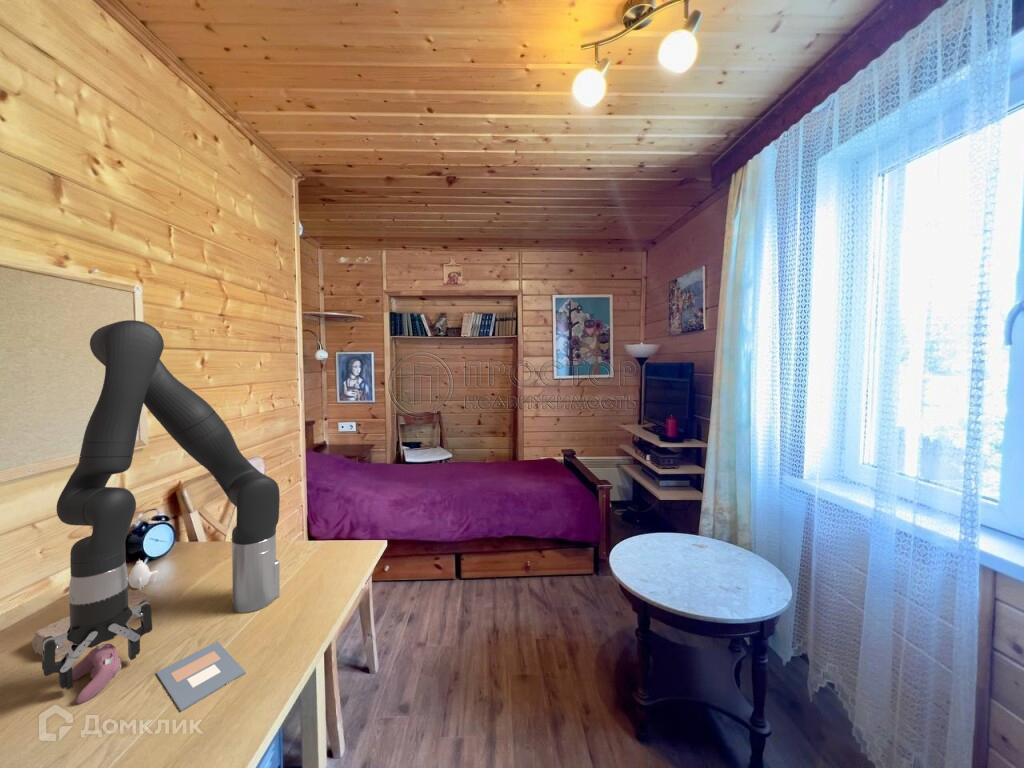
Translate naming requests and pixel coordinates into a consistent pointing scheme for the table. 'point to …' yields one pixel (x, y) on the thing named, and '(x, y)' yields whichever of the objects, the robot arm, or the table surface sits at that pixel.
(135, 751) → the table surface
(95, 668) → the video game controller
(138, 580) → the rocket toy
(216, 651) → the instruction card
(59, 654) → the brick
